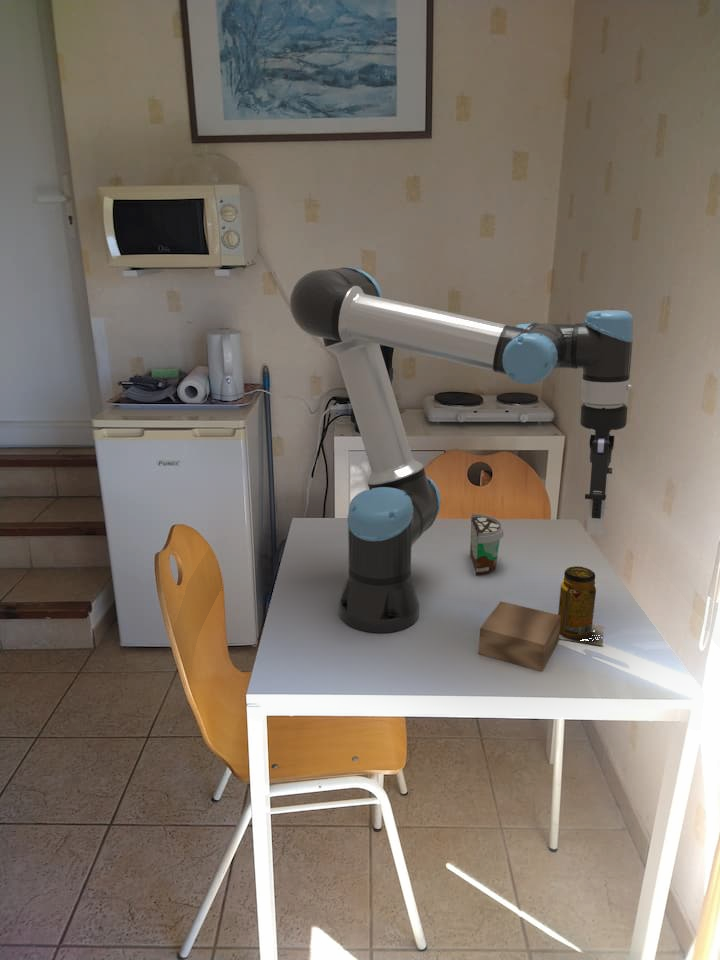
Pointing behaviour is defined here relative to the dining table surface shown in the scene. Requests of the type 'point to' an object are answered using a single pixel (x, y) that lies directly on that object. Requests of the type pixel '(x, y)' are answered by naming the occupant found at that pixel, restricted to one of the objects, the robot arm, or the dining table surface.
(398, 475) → the robot arm
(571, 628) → the condiment
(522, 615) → the walnut block
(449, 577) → the dining table surface
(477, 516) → the food container
